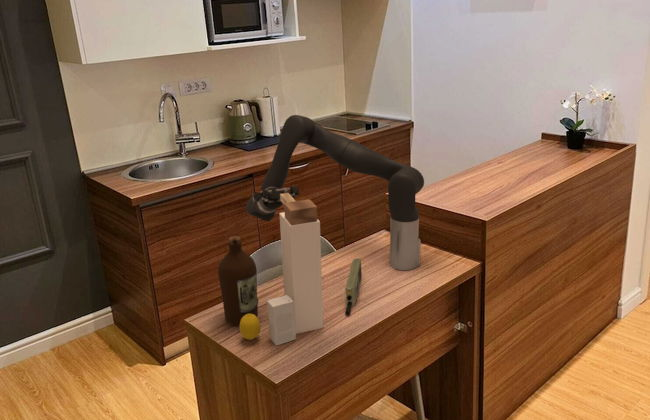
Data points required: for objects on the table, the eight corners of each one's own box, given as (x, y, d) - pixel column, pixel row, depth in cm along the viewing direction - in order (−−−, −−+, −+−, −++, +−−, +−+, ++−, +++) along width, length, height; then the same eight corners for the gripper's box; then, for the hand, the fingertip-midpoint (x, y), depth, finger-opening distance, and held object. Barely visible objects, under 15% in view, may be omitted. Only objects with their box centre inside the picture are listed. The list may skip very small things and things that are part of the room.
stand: (311, 310, 169) (307, 208, 158) (323, 327, 160) (319, 221, 149) (285, 315, 167) (279, 212, 155) (295, 333, 158) (290, 226, 146)
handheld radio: (363, 276, 188) (353, 317, 165) (353, 276, 189) (342, 317, 166) (362, 258, 186) (352, 297, 163) (352, 257, 186) (340, 296, 164)
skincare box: (289, 332, 159) (287, 293, 155) (296, 339, 156) (294, 301, 151) (269, 338, 156) (266, 299, 152) (275, 346, 153) (272, 307, 148)
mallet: (296, 198, 165) (295, 185, 164) (317, 221, 149) (316, 206, 148) (272, 201, 163) (271, 188, 162) (291, 225, 147) (290, 210, 145)
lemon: (244, 347, 153) (241, 321, 150) (238, 336, 158) (235, 311, 155) (264, 342, 155) (262, 316, 152) (257, 331, 160) (255, 306, 157)
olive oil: (215, 318, 166) (206, 239, 157) (243, 303, 174) (236, 227, 165) (240, 331, 160) (232, 250, 151) (267, 315, 167) (262, 236, 158)
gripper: (246, 192, 188) (255, 181, 173) (288, 186, 193) (300, 175, 177) (250, 214, 187) (260, 205, 172) (292, 208, 192) (305, 199, 177)
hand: (280, 190), depth 175 cm, fingers open, 8 cm apart
